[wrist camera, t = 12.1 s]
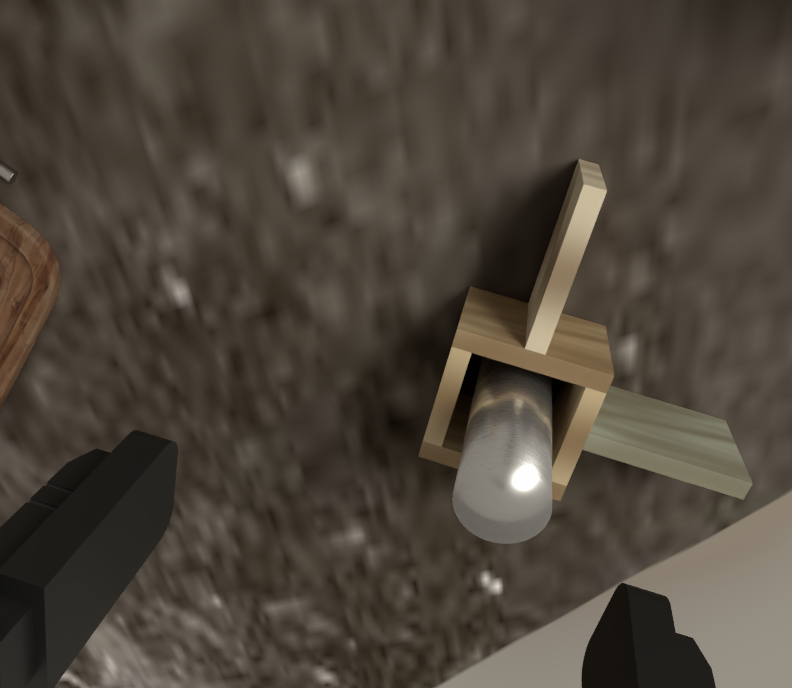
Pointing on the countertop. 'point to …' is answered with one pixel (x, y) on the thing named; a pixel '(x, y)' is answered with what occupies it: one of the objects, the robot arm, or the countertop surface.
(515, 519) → the hinge pin
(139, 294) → the countertop surface
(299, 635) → the countertop surface
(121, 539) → the robot arm
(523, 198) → the countertop surface
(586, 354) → the hinge
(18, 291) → the chopping board
